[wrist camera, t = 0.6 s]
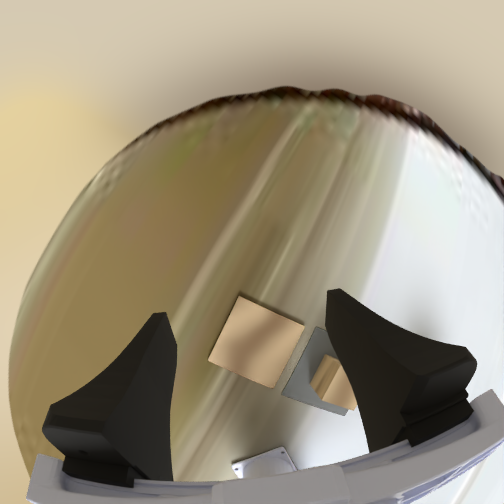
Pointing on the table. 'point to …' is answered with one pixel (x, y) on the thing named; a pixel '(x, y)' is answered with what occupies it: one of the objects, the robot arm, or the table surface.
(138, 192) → the table surface
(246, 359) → the cork coaster
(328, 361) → the oak block
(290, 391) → the grey lettered plate
